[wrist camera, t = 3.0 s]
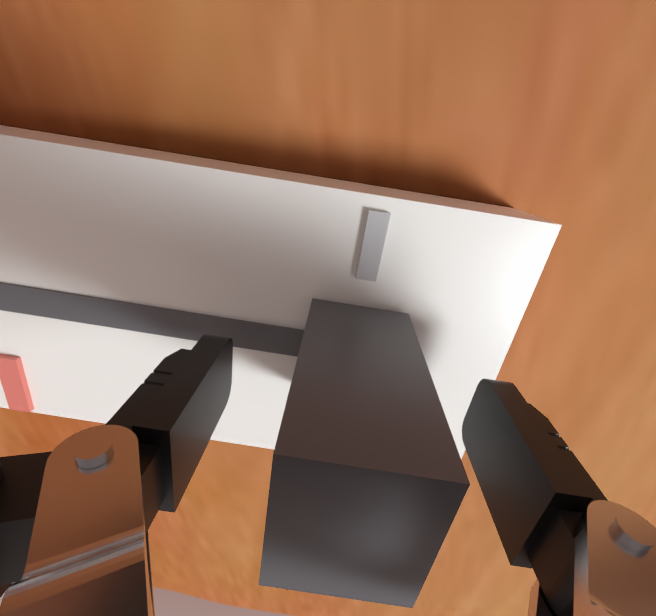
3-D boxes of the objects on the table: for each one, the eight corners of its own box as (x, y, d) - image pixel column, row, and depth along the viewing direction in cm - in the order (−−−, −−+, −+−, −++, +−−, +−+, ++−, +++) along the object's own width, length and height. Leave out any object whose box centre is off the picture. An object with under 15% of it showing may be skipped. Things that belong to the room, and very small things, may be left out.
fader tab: (408, 313, 11) (469, 484, 5) (384, 402, 12) (412, 607, 7) (312, 298, 11) (273, 453, 5) (299, 389, 12) (258, 584, 7)
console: (514, 208, 12) (565, 226, 9) (436, 422, 16) (454, 481, 14) (-166, 97, 12) (-331, 81, 9) (-70, 344, 16) (-161, 386, 13)
